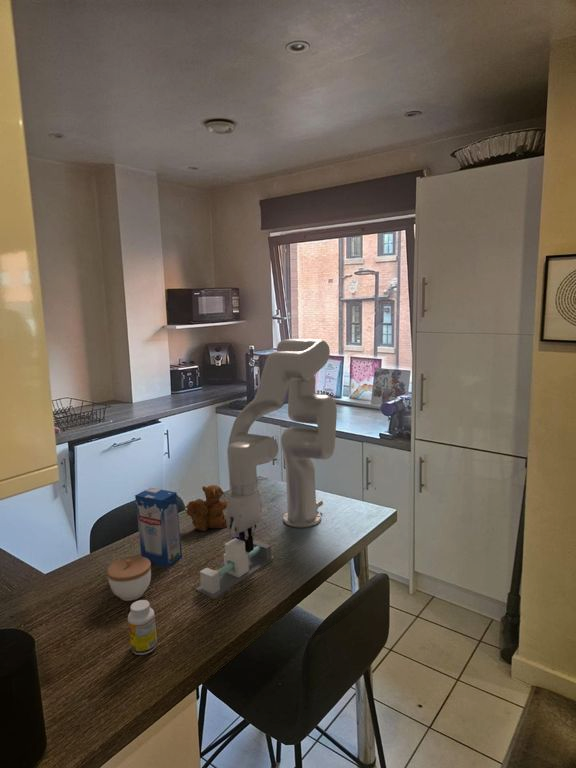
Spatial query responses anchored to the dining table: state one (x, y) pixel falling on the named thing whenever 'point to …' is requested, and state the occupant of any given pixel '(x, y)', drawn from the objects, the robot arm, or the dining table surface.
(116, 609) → the dining table surface
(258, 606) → the dining table surface
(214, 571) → the threaded rod slide
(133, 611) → the supplement bottle
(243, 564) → the sleeve
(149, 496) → the milk carton
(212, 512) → the stuffed squirrel
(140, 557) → the lidded jar
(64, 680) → the dining table surface
